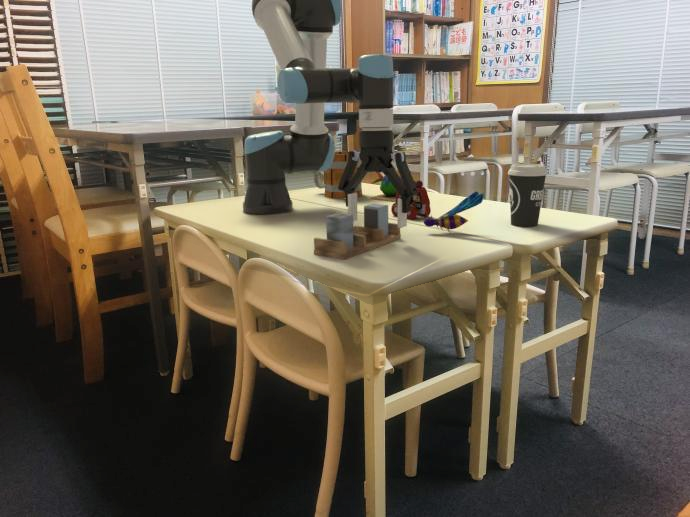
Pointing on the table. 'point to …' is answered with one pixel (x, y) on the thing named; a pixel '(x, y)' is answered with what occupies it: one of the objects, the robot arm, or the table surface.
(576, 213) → the table surface
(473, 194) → the toy
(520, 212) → the coffee cup
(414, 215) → the toy fire truck
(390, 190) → the toy animal
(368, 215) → the blue gray block
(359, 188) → the mug
